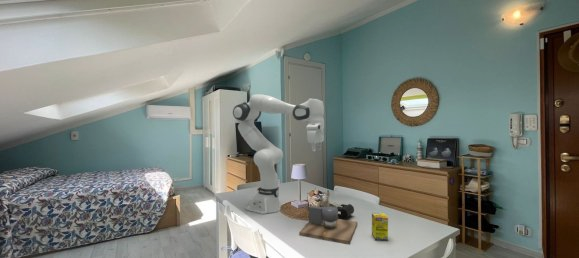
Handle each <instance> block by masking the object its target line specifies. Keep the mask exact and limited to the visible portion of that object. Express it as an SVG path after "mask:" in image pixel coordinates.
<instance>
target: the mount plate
mask: <svg viewBox="0 0 579 258" xmlns="http://www.w3.org/2000/svg"><path fill="white" fill-rule="evenodd" d="M357 226H358V221H354V220H348V219H345V220H342V219H338V220H337V221H332V222H330V221H325V220H323V223H322V224H316V223H310V222H309V221H308V222H307V223H306V225H304V227H302V228H301V230H300V231H299V234H298V235H299V236H302V237H306V238H307V237H309V238H313V239H318V240H319V239H320V240H325V241H330V242H335V243H340V244H346V245H351V241H352V239H353V236H354V234H355V231H356V229H357Z"/></svg>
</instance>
